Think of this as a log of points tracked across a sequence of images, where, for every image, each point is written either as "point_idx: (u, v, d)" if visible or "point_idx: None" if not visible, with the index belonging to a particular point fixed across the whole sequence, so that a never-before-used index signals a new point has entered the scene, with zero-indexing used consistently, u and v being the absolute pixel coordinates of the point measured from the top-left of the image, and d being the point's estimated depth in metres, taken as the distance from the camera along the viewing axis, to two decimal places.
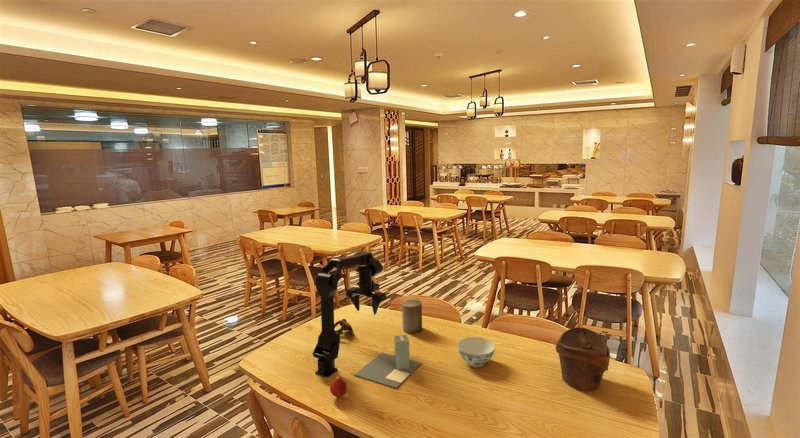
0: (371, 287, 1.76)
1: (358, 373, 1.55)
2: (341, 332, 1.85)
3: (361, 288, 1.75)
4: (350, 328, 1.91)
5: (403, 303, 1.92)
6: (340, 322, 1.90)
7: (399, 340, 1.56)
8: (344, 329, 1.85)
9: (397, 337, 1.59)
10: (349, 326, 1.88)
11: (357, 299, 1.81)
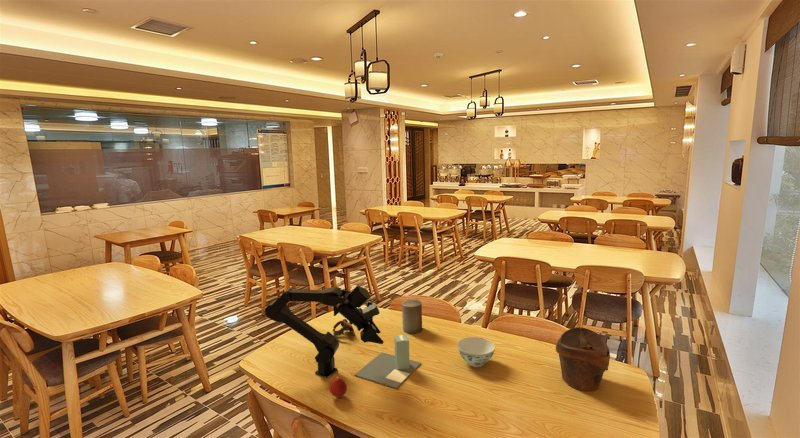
0: (360, 320, 1.51)
1: (358, 373, 1.55)
2: (342, 332, 1.85)
3: None
4: (351, 328, 1.91)
5: (403, 303, 1.92)
6: (341, 322, 1.90)
7: (399, 340, 1.56)
8: (345, 329, 1.85)
9: (397, 337, 1.59)
10: (350, 326, 1.88)
11: (370, 324, 1.60)
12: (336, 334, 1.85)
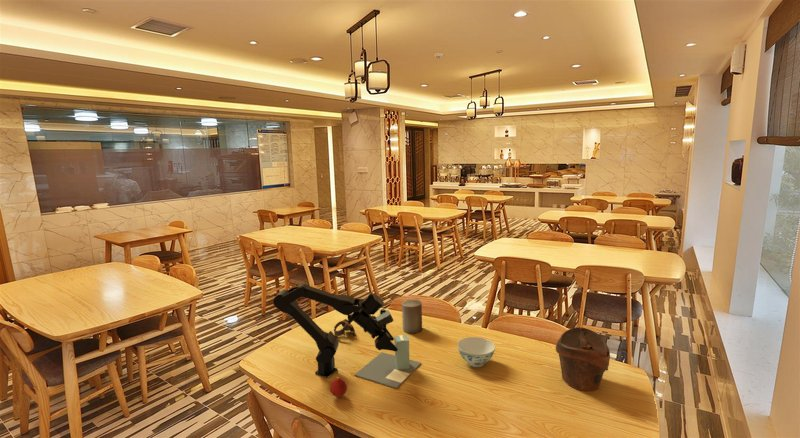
0: (374, 328, 1.52)
1: (358, 373, 1.55)
2: (343, 332, 1.84)
3: None
4: (352, 328, 1.91)
5: (403, 303, 1.92)
6: (342, 322, 1.90)
7: (399, 340, 1.56)
8: (346, 329, 1.85)
9: (397, 337, 1.59)
10: (351, 326, 1.88)
11: (384, 331, 1.62)
12: (337, 334, 1.85)
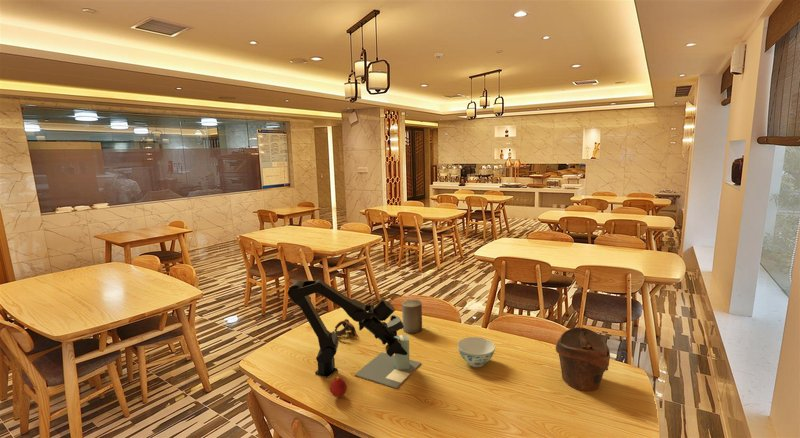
0: (385, 334, 1.54)
1: (358, 373, 1.55)
2: (344, 332, 1.84)
3: None
4: (353, 328, 1.91)
5: (403, 303, 1.92)
6: (343, 322, 1.90)
7: None
8: (347, 329, 1.85)
9: (397, 337, 1.59)
10: (352, 326, 1.88)
11: None
12: (338, 334, 1.85)
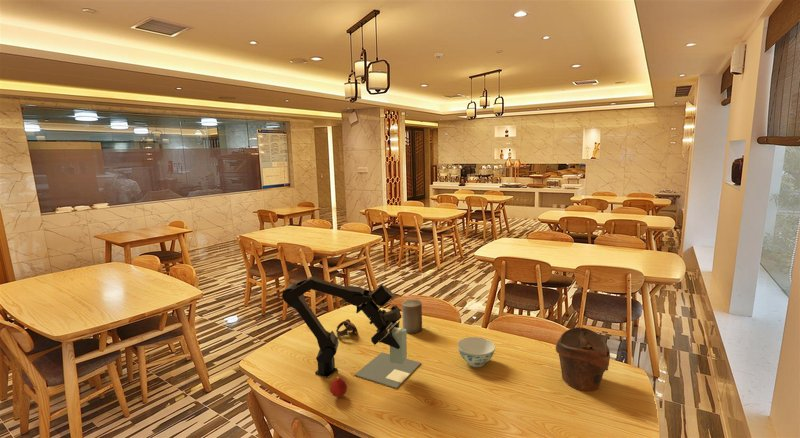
0: (379, 322, 1.50)
1: (358, 373, 1.55)
2: (346, 332, 1.84)
3: None
4: (354, 328, 1.90)
5: (403, 303, 1.92)
6: (344, 322, 1.90)
7: (393, 332, 1.50)
8: (349, 329, 1.85)
9: (395, 329, 1.53)
10: (354, 326, 1.88)
11: None
12: (340, 334, 1.85)
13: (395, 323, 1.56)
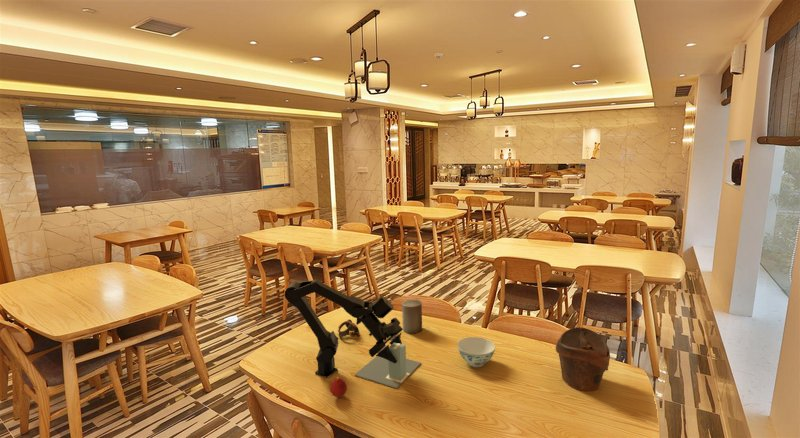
0: (377, 335, 1.51)
1: (358, 373, 1.55)
2: (348, 333, 1.84)
3: None
4: (356, 328, 1.90)
5: (403, 303, 1.92)
6: (346, 323, 1.89)
7: (391, 348, 1.50)
8: (351, 330, 1.85)
9: (394, 344, 1.53)
10: (355, 326, 1.87)
11: (396, 342, 1.56)
12: (341, 335, 1.85)
13: (396, 334, 1.57)
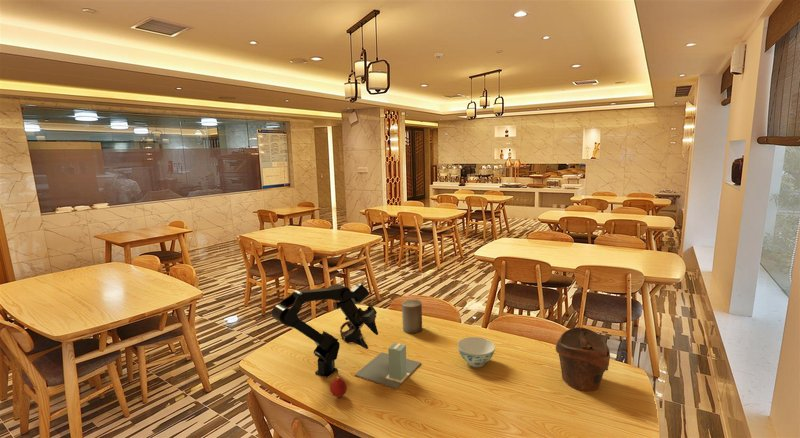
0: (353, 321, 1.60)
1: (358, 373, 1.55)
2: None
3: None
4: None
5: (403, 303, 1.92)
6: (348, 323, 1.89)
7: (392, 348, 1.50)
8: None
9: (394, 344, 1.53)
10: None
11: (371, 324, 1.67)
12: (344, 335, 1.84)
13: None
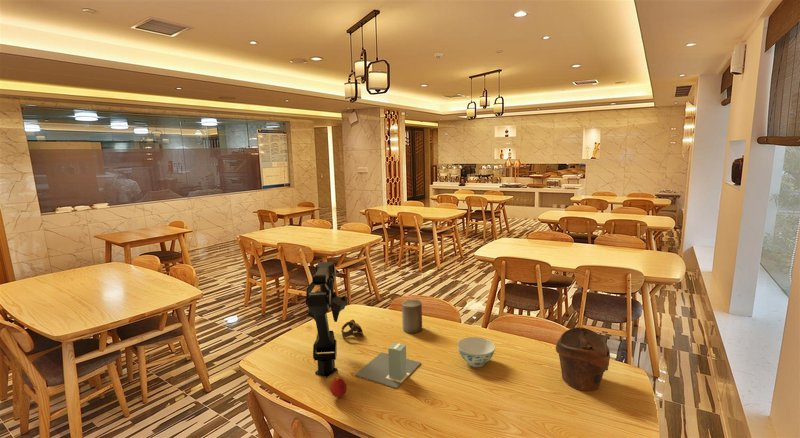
0: None
1: (358, 373, 1.55)
2: (352, 333, 1.84)
3: None
4: (359, 329, 1.90)
5: (403, 303, 1.92)
6: (349, 323, 1.89)
7: (392, 348, 1.50)
8: (354, 330, 1.84)
9: (394, 344, 1.53)
10: (359, 327, 1.87)
11: (335, 310, 1.73)
12: (345, 335, 1.84)
13: None
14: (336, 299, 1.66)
